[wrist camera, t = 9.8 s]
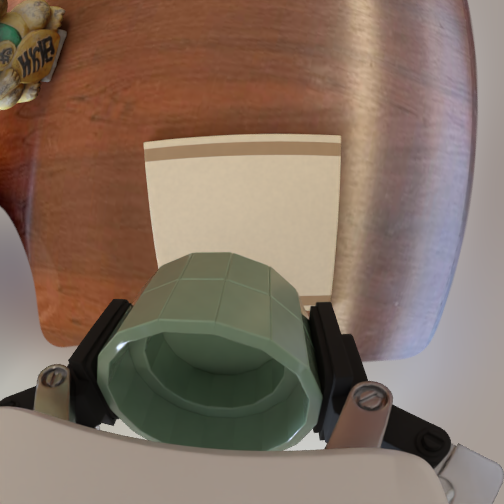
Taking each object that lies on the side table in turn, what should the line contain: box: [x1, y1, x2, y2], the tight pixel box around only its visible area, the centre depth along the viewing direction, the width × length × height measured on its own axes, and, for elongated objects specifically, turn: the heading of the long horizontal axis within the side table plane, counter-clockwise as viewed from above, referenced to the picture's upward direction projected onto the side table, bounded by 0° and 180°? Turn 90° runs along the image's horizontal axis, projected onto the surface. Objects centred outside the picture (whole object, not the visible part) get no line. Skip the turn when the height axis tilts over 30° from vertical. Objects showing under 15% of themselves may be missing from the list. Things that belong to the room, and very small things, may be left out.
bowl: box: [97, 252, 323, 451], centre depth 10 cm, size 7×7×4 cm
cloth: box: [144, 134, 341, 311], centre depth 23 cm, size 14×14×1 cm
